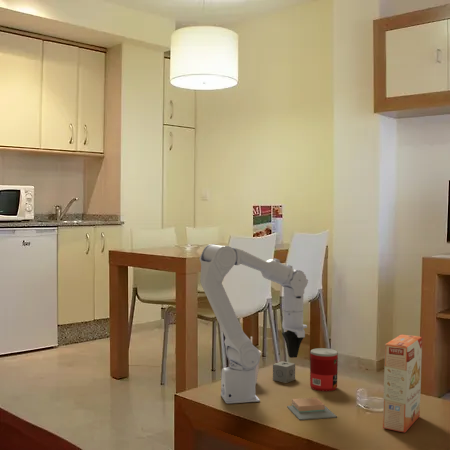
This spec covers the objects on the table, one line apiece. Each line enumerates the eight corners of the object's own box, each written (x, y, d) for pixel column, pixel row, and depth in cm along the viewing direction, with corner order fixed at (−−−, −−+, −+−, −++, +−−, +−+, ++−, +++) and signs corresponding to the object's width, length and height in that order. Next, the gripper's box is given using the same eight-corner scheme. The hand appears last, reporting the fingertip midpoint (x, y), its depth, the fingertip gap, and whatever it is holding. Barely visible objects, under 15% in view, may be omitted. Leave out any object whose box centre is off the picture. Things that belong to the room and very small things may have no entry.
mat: (299, 420, 151) (299, 419, 151) (287, 407, 160) (287, 406, 160) (336, 417, 153) (336, 416, 153) (322, 404, 163) (322, 403, 163)
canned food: (339, 392, 174) (339, 354, 174) (311, 391, 174) (312, 354, 174) (335, 384, 182) (335, 348, 181) (308, 383, 182) (308, 347, 181)
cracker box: (407, 434, 142) (408, 346, 141) (381, 429, 145) (383, 343, 144) (421, 416, 154) (423, 335, 153) (398, 412, 157) (399, 333, 156)
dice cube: (295, 379, 186) (295, 363, 186) (286, 383, 182) (286, 367, 182) (281, 376, 189) (281, 361, 189) (272, 380, 186) (272, 364, 185)
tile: (291, 404, 161) (299, 412, 155) (291, 399, 161) (299, 406, 155) (316, 403, 163) (324, 410, 157) (316, 397, 163) (324, 404, 157)
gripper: (315, 314, 168) (314, 362, 168) (298, 306, 182) (297, 350, 182) (291, 315, 166) (290, 363, 167) (275, 306, 180) (275, 351, 181)
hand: (292, 357), depth 174 cm, fingers closed
